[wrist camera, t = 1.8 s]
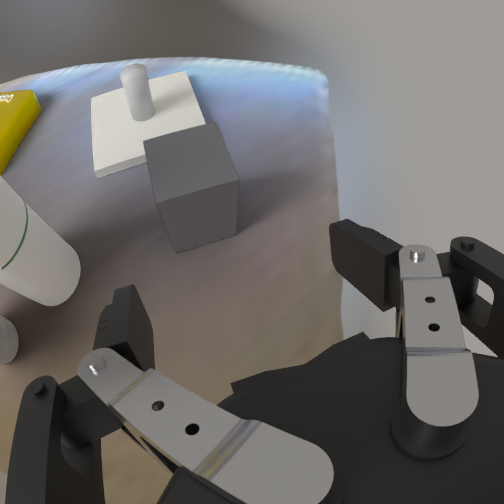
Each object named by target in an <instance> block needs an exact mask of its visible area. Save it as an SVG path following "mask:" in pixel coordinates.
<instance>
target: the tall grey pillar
mask: <svg viewBox="0 0 504 504" xmlns="http://www.w3.org/2000/svg"><path fill="white" fill-rule="evenodd" d="M143 145H144V150H145V155H146V160H147V165H148V169H149V174H150V178H151V183H152V187H153V192H154V196H155V200H156V204H157V207H158V209H159V212H160V214H161V217H162V219H163V222H164V224H165V227H166V229H167V232H168V234H169V237H170V239H171V242H172V244H173V247H174V249H175V251H176V253H179V252H183V251H186V250H189V249H192V248H196V247H199V246H202V245H206V244H209V243H212V242H216V241H219V240H222V239H226V238H229V237H232V236H236V226H237V209H238V192H239V177H238V175H237V172H236V170H235V168H234V165H233V163H232V160H231V158H230V155H229V153H228V150H227V148H226V145H225V143H224V141H223V138H222V136H221V133H220V131H219V128H218V126H217V124H216V122H212V123H208V124H204V125H200V126H195V127H191V128H188V129H184V130H180V131H176V132H172V133H169V134H165V135H162V136H158V137H155V138H151V139H148V140H144V141H143Z"/></svg>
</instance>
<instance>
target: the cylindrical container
mask: <svg viewBox="0 0 504 504" xmlns="http://www.w3.org/2000/svg"><path fill="white" fill-rule="evenodd" d="M80 272H81V266H80V260H79V257H78V255H77V253H76V252H75V250H74V249H73V248H72V247H71V246H70V245H69V244H68V243H66V242H65V241H64V240H63V239H62V238H61V237H60V236H59V235H58V234H57V233H56V232H55V231H54V230H53V229H52V228H51V227H50V226H49V225H48V224H46V223H45V222H44V221H43V220H42V219H41V218H40V217H39V216H38V215H37V214H36V213H35V212H34V211H33V210H32V209H31V208H30V207H29V206H28V205H27V204H26V203H25V201H24V200H23V199H22V198H21V197H20V196H19V195H18V194H17V193H16V192H15V191H14V190H13V189H12V188H11V187H10V186H9V184H8V183H7V182H6V181H5V180H4V179H3V178H2V177H1V176H0V284H1V285H3V286H5V287H7V288H9V289H11V290H13V291H15V292H17V293H19V294H21V295H23V296H25V297H27V298H30V299H32V300H34V301H36V302H38V303H40V304H43V305H46V306H56V305H59V304H61V303H63V302H65V301H66V300H67V299H68V298H69V297H70V296H71V295H72V294H73V292H74V291H75V289H76V287H77V285H78V282H79V278H80Z"/></svg>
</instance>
